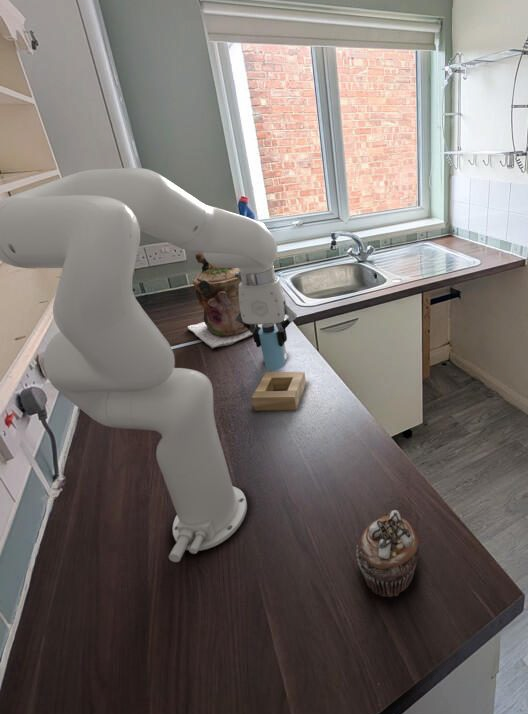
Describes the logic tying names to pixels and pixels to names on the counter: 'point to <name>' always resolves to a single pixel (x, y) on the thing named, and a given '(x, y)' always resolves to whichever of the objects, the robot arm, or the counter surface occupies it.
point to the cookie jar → (218, 305)
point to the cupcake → (388, 554)
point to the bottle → (271, 347)
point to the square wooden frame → (279, 399)
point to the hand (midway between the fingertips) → (271, 343)
